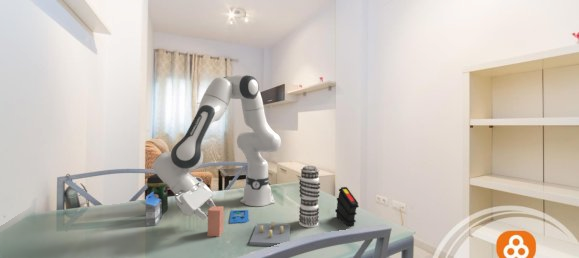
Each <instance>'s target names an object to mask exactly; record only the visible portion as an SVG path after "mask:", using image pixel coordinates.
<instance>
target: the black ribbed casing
mask: <svg viewBox="0 0 579 258" xmlns="http://www.w3.org/2000/svg"><path fill="white" fill-rule="evenodd" d="M338 191H339V193H338V197H336V201H337V202H336V209H335V214H336V219H338V220H340V221H341V222H342V223H344V224H345V225H347V227H349V226H351V227H352V226H355V223H356V222H357V221H356V220H355V218H356V217H355V216H356V215H357V212H356V211H357V208H359V206H360V205H359V202H358V201H357V199H356V198H355V196H354V195H353V194H352V193H351V191H350V190H349V188H348V187H347V186H341V187H340V188H338Z"/></svg>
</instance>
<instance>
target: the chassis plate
mask: <svg viewBox="0 0 579 258" xmlns="http://www.w3.org/2000/svg"><path fill="white" fill-rule="evenodd" d="M290 232H291V224H276V223H275V221H271V222H270V224H269V223H256V226H255V227H254V230H253V232H252V235H251V238H250V239H249V240H250V241H249V246H260V247H274V246H273V245H277V244H280V243H283V242H287V241H289V242H290V237H291V236H290V234H291V233H290Z"/></svg>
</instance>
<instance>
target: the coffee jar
mask: <svg viewBox="0 0 579 258" xmlns="http://www.w3.org/2000/svg"><path fill="white" fill-rule="evenodd" d="M146 185H147V186H146V187H147V196H148V195H149V194H150V193H152V192H153V191H154V194H153V197H155V198H158V199H161V200H162V215H163V214H165V212H167V211H168V209H169V200H168V199H169V197H168V196H169V195H168V185H167V184H166V183H164V182H163V181H162V180H161V179H160V178H159V176H158V175H157V174H156V173H154V174H153V175H149V176H148V177H147V179H146ZM150 197H151V196H149V198H150ZM149 198H148V199H149Z"/></svg>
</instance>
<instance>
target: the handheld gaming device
mask: <svg viewBox="0 0 579 258" xmlns="http://www.w3.org/2000/svg"><path fill="white" fill-rule="evenodd" d="M228 221H229V222H228V224H229V225H230V224H231V225H233V224H234V225H235V224H246V223H248V222H249V210H248V209H236V210H234V209H233V210H231V211H230V216H229V220H228Z"/></svg>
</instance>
